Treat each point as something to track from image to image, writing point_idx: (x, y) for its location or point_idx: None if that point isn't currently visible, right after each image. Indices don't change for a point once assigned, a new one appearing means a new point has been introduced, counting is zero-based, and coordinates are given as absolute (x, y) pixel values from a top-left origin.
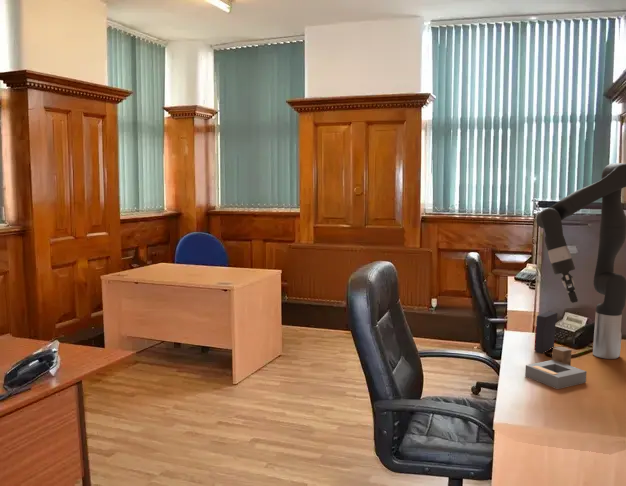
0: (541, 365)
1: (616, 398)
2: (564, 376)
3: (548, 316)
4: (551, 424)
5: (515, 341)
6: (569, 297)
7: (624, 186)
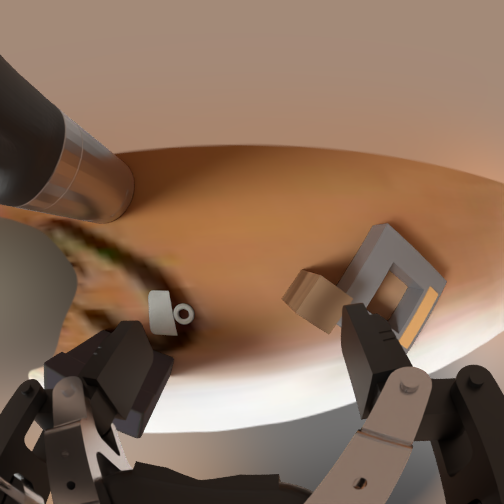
0: None
1: (423, 168)
2: (435, 270)
3: None
4: None
5: None
6: (141, 385)
7: None
